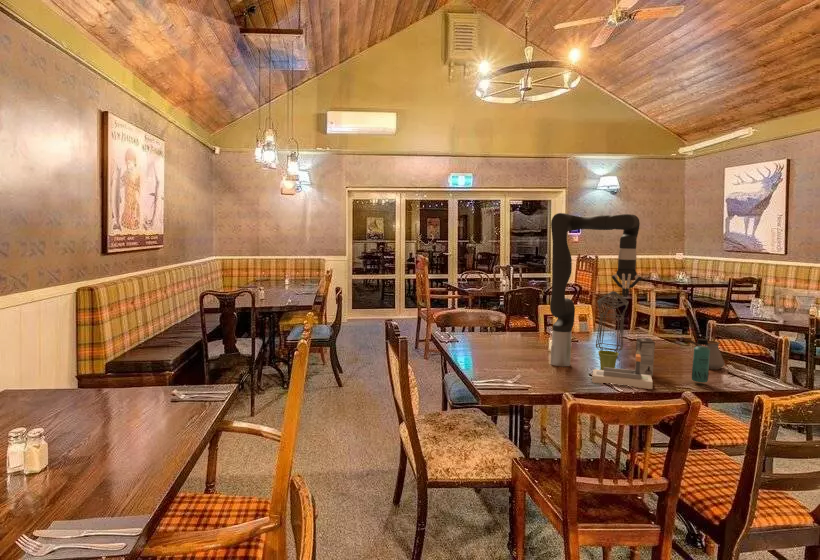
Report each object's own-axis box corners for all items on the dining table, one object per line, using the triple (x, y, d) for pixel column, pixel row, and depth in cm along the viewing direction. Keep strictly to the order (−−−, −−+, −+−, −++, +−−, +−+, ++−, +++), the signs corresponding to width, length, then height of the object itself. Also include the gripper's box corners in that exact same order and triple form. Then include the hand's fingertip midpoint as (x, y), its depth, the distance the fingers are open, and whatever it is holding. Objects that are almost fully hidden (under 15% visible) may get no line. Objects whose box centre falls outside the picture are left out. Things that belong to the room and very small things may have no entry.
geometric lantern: (595, 350, 288) (599, 289, 285) (625, 354, 281) (630, 291, 278) (592, 355, 274) (596, 291, 271) (623, 360, 267) (629, 294, 264)
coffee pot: (716, 364, 258) (718, 335, 257) (729, 370, 247) (731, 340, 246) (673, 363, 260) (675, 334, 258) (684, 369, 248) (686, 339, 247)
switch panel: (592, 382, 223) (592, 371, 223) (593, 375, 235) (593, 364, 234) (652, 389, 215) (652, 377, 214) (650, 381, 226) (651, 370, 225)
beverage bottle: (687, 381, 227) (690, 337, 225) (701, 381, 227) (704, 337, 226) (697, 386, 220) (700, 340, 218) (711, 385, 221) (714, 340, 219)
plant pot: (621, 370, 244) (622, 352, 244) (613, 374, 238) (613, 355, 237) (602, 366, 251) (603, 349, 250) (593, 370, 244) (594, 352, 244)
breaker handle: (633, 377, 220) (634, 356, 219) (633, 374, 225) (634, 353, 224) (641, 378, 219) (642, 357, 218) (640, 375, 224) (641, 354, 223)
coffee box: (634, 370, 245) (636, 337, 244) (648, 371, 244) (650, 338, 243) (638, 375, 236) (640, 341, 235) (653, 376, 235) (655, 342, 234)
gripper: (611, 258, 229) (609, 296, 231) (643, 259, 224) (641, 298, 226) (611, 257, 236) (609, 294, 237) (642, 258, 231) (640, 296, 233)
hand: (625, 296), depth 232 cm, fingers closed
